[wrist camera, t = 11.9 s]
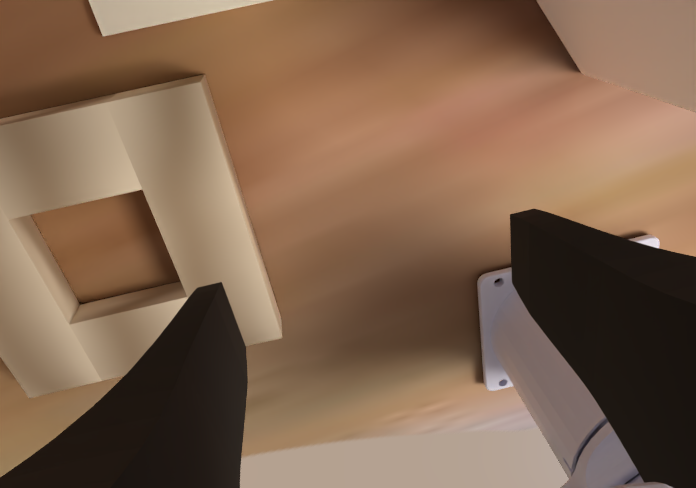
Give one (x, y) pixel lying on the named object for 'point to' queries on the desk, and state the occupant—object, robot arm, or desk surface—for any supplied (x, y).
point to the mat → (155, 12)
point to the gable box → (632, 44)
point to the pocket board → (110, 180)
